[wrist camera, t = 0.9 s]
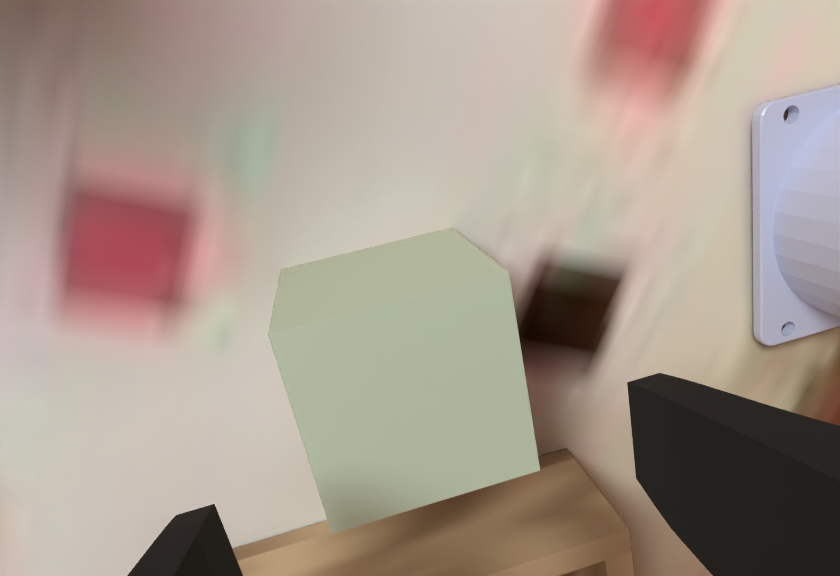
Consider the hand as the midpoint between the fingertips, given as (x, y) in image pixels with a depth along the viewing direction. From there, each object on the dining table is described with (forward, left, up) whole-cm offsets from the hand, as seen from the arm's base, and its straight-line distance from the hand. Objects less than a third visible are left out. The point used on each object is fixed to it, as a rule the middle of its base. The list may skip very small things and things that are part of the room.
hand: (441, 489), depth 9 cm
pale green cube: (0, 0, -8) cm, 8 cm away
